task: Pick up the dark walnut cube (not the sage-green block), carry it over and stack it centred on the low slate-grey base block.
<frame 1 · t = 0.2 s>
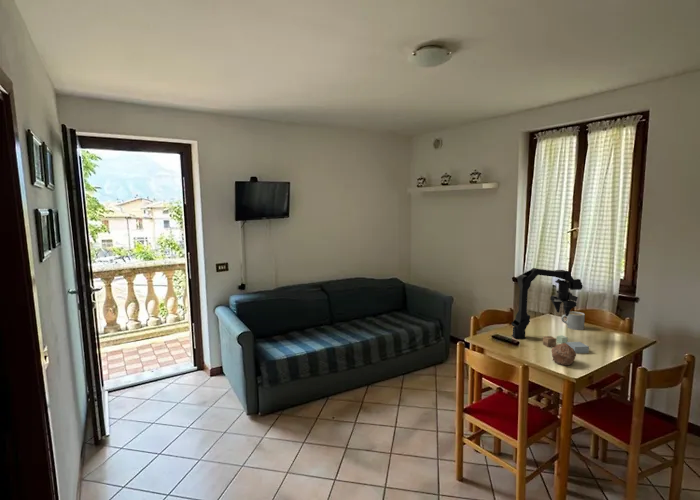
hand: (562, 314, 241), 14 cm above the table, fingers open, 9 cm apart
walnut cube: (549, 345, 226), on the table
base block: (577, 351, 218), on the table
decorative rock: (562, 363, 201), on the table
coffee mug: (572, 327, 260), on the table
sage block: (562, 343, 230), on the table
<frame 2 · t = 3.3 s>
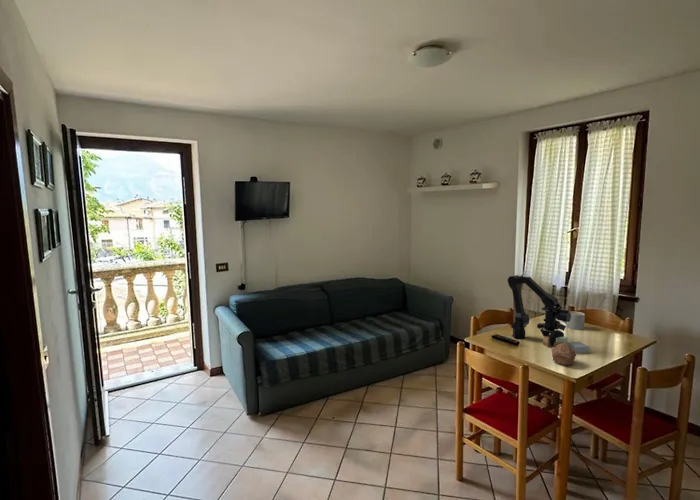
hand: (549, 343, 226), 1 cm above the table, fingers closed on walnut cube, 5 cm apart
walnut cube: (549, 345, 226), on the table, touching gripper
everything else where it was.
when the fingers open (6 cm above the table, at t = 6.4 s): walnut cube drops 2 cm, point 4 cm above the table.
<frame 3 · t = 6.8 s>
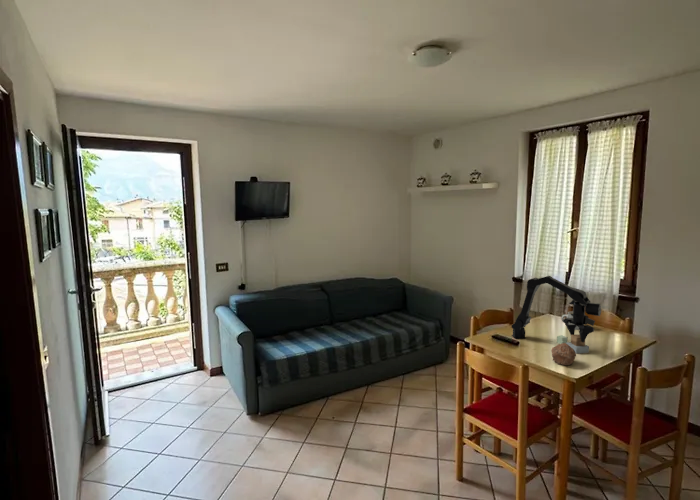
hand: (577, 339, 217), 6 cm above the table, fingers open, 9 cm apart
walnut cube: (577, 344, 217), point 4 cm above the table
everything else where it was.
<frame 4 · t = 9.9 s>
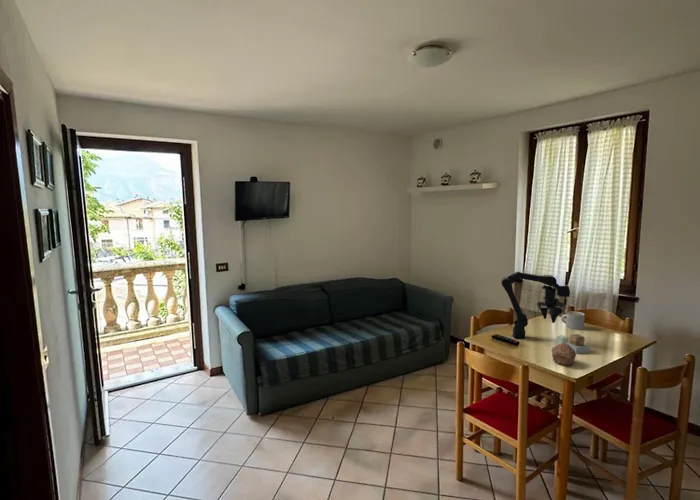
hand: (549, 320, 235), 12 cm above the table, fingers open, 9 cm apart
nothing on the table moved.
at the end: walnut cube 0.1 cm off-centre on the base block, point 4.0 cm above the base block's base; walnut cube tilted 1°; sage block moved 0.1 cm from its start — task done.
